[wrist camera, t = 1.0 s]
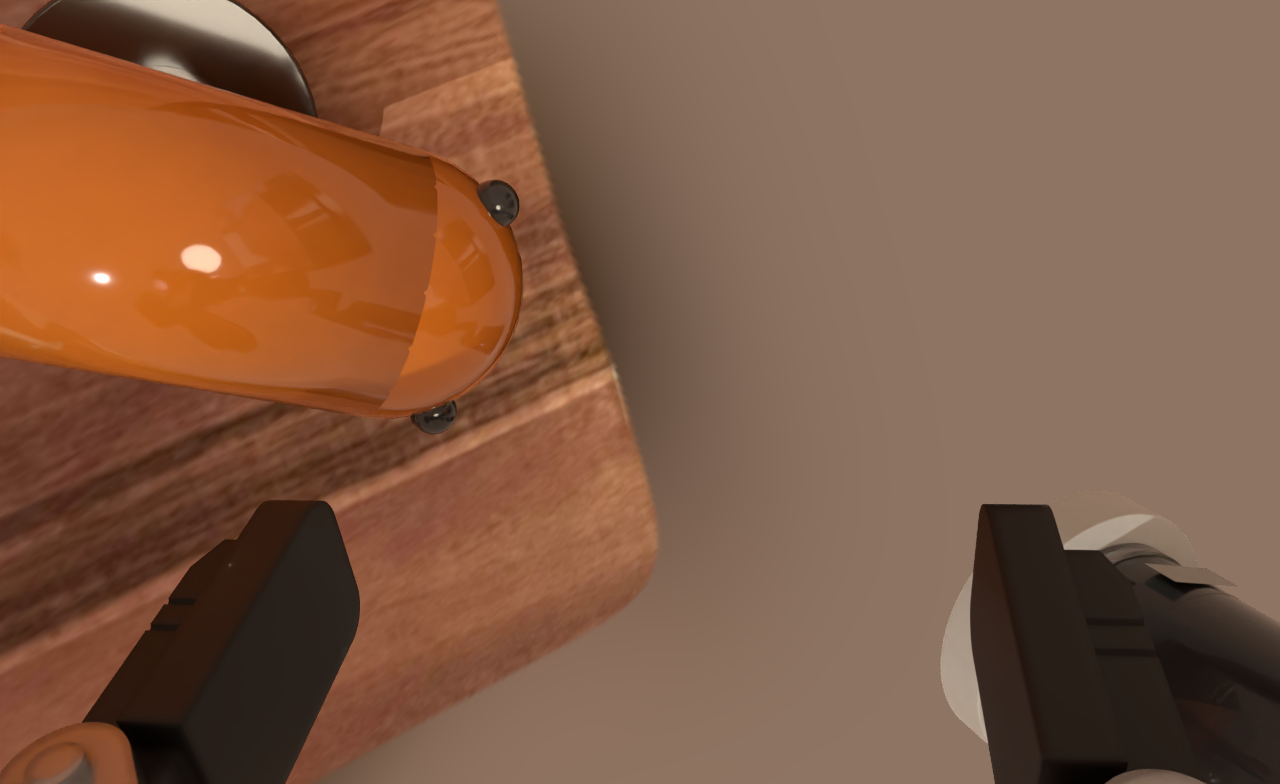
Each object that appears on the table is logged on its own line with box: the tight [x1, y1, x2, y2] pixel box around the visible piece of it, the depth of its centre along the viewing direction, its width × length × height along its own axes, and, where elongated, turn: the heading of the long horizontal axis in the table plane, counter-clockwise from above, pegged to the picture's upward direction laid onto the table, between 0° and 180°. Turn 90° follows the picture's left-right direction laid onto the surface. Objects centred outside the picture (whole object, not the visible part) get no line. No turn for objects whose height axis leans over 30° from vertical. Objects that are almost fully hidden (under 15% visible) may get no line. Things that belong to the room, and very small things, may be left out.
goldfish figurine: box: [0, 0, 523, 435], centre depth 18 cm, size 11×6×14 cm, turn 70°
